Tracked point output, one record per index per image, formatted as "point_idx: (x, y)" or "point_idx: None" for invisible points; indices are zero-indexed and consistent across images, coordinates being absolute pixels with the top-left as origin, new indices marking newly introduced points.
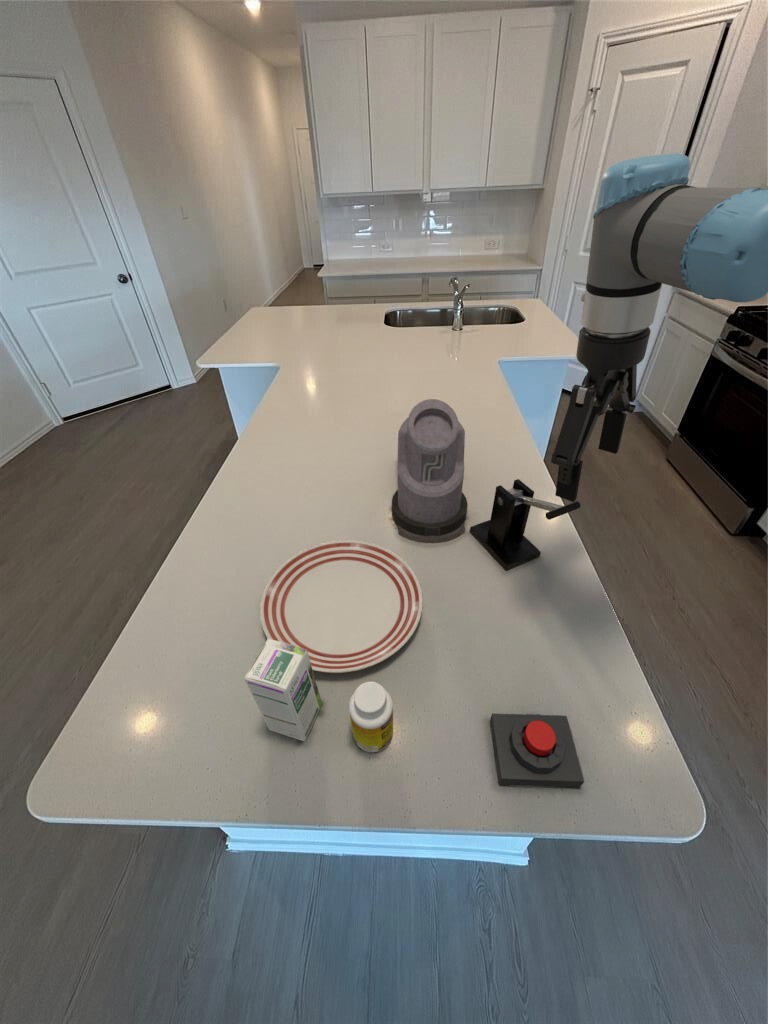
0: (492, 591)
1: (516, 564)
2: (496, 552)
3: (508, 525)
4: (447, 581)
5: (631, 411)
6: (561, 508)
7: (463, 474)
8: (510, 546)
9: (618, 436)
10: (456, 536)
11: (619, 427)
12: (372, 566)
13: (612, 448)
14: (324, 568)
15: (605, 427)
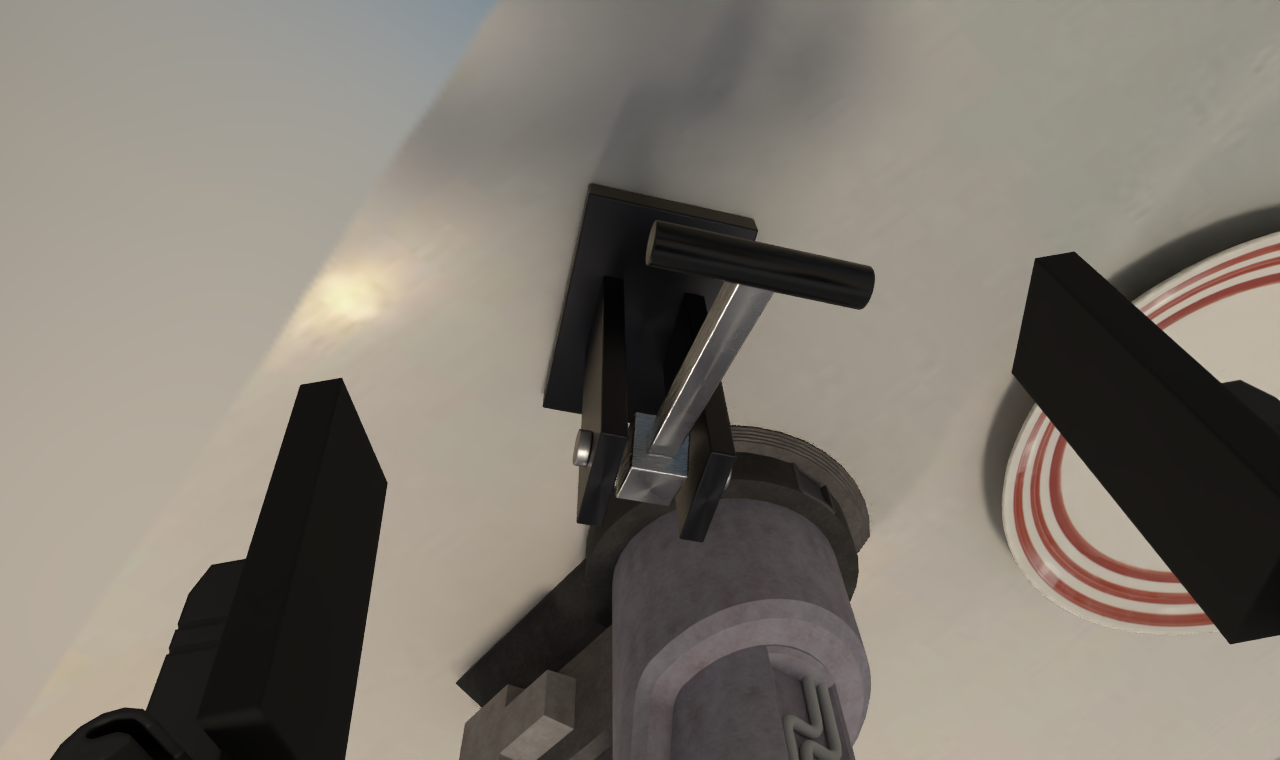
0: (875, 186)
1: (709, 214)
2: None
3: None
4: (940, 314)
5: (124, 730)
6: (783, 279)
7: (673, 641)
8: (660, 286)
9: (315, 509)
10: (743, 429)
11: (300, 594)
12: (1064, 489)
13: (349, 433)
14: (1155, 555)
15: (352, 640)
